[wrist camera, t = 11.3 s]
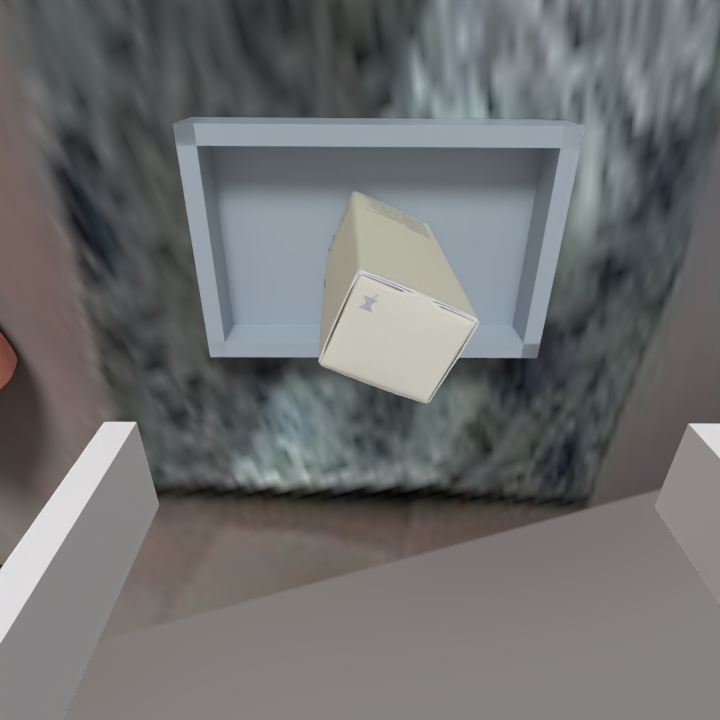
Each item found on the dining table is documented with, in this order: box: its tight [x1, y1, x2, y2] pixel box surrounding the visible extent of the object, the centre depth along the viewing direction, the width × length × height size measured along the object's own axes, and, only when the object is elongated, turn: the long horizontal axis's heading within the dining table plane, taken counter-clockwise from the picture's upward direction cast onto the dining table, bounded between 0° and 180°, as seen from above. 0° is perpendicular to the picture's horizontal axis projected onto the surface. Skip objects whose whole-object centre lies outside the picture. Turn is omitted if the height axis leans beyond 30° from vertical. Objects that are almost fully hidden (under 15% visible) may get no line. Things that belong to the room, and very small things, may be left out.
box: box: [318, 191, 480, 403], centre depth 25 cm, size 5×4×13 cm
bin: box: [173, 117, 585, 358], centre depth 29 cm, size 13×20×3 cm, turn 90°
